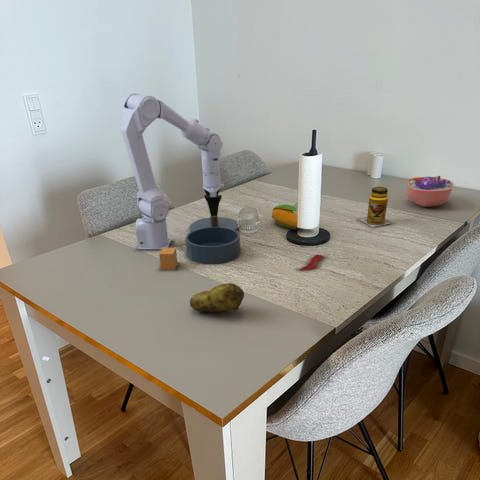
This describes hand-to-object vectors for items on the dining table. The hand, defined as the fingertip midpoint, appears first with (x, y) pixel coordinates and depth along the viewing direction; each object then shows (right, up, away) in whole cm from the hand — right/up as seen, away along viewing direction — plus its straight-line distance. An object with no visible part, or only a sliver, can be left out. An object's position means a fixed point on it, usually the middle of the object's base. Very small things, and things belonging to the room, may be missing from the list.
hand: (213, 211), depth 159 cm
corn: (+28, -6, +1) cm, 29 cm away
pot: (+1, -16, -15) cm, 22 cm away
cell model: (+80, +7, +19) cm, 83 cm away
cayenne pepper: (+30, -21, -23) cm, 44 cm away
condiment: (+56, -3, +5) cm, 57 cm away
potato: (+4, -35, -46) cm, 58 cm away
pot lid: (0, -5, +3) cm, 5 cm away
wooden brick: (-12, -21, -23) cm, 33 cm away
